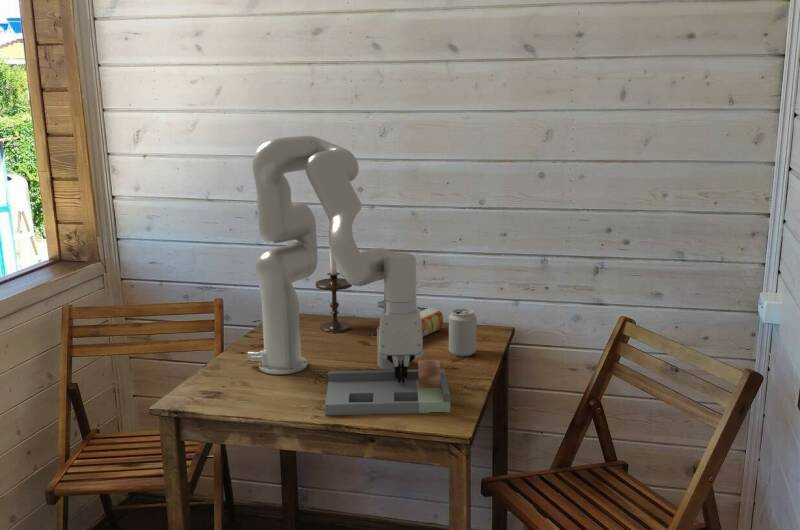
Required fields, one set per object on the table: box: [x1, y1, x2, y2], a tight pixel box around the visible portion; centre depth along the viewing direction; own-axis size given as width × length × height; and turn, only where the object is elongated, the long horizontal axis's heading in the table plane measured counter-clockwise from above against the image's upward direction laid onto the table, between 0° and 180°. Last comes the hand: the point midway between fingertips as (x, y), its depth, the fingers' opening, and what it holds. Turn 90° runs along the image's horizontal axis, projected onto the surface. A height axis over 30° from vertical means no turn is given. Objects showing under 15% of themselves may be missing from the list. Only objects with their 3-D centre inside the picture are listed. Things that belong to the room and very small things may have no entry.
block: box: [417, 359, 441, 388], centre depth 192 cm, size 5×5×5 cm
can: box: [448, 308, 478, 358], centre depth 221 cm, size 8×8×12 cm
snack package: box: [419, 307, 444, 338], centre depth 235 cm, size 21×7×7 cm, turn 143°
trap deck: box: [324, 368, 451, 416], centre depth 189 cm, size 28×16×4 cm, turn 92°
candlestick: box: [315, 250, 353, 334], centre depth 242 cm, size 11×11×35 cm
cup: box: [376, 326, 411, 370], centre depth 213 cm, size 8×8×10 cm
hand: (401, 380), depth 192 cm, fingers closed
